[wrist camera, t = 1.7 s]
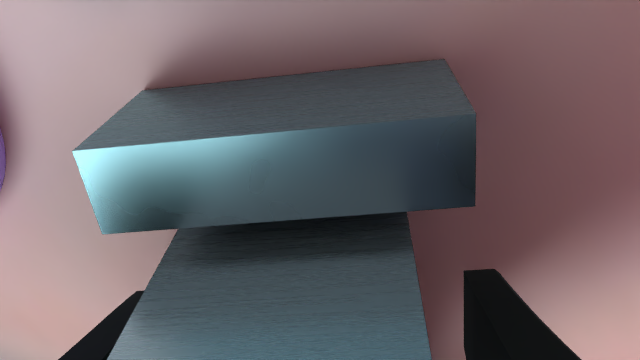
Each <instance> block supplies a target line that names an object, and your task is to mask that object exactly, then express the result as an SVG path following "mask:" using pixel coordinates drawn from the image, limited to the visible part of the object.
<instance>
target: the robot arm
mask: <svg viewBox="0 0 640 360" xmlns="http://www.w3.org/2000/svg"><path fill="white" fill-rule="evenodd" d="M143 293H144V291H136V292H135V293H134V294H133V295H131V296H130V297H129V298H128V299H127V300H125V301H124V302H123V303H122V304H121V305H120V306H118V307H117V308H116V309H115V310H114V311H113V312H112V313H110V314H109V315H108V316H107V317H106V318H105V319H104V320H103V321H101V322H100V323H99V324H98V325H97V326H96V327H95V328H94V329H93V330H91V331H90V332H89V333H88V334H87V335H86V336H85V337H83V338H82V339H81V340H80V341H79V342H78V343H77V344H76V345H74V346H73V347H72V348H71V349H70V350H69V351H68V352H66V353H65V354H64V355H63V356H62V357H61V358H60V359H58V360H107V359H108V357H109V355H110V353H111V351H112V349H113V348H114V346H115V344H116V342H117V340H118V338H119V337H120V335H121V333H122V331H123V329H124V327H125V326H126V324H127V322H128V320H129V318H130V316H131V315H132V313H133V311H134V309H135V307H136V306H137V304H138V302H139V300H140V298H141V296H142V295H143ZM464 350H465V355H466V360H581V359H580V358H579V357H578V356H577V355H576V354H575V353H574V352H573V351H572V350H571V349H570V348H569V347H568V346H566V345H565V344H564V343H563V342H562V341H561V340H560V339H559V338H558V337H557V336H556V335H555V334H554V333H553V332H552V331H551V330H550V329H549V327H548V326H547V325H546V324H545V323H544V322H543V321H542V320H541V319H540V318H539V317H538V316H537V315H536V314H535V313H534V312H533V311H532V310H531V309H530V308H529V306H528V305H527V304H526V303H525V302H524V301H523V300H522V299H521V298H520V296H519V295H518V294H517V293H516V292H515V291H514V290H513V288H512V287H511V286H510V285H509V284H508V283H507V281H506V280H505V279H504V278H503V277H502V275H501V274H500V273H499V272H498V271H496V270H495V269H484V270H468V271H464Z"/></svg>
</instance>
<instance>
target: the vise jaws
mask: <svg viewBox="0 0 640 360" xmlns="http://www.w3.org/2000/svg"><path fill="white" fill-rule="evenodd" d="M72 152H73V154H74V157H75V160H76V163H77V165H78V168H79V171H80V174H81V177H82V179H83V182H84V185H85V188H86V190H87V193H88V196H89V199H90V202H91V204H92V207H93V210H94V213H95V215H96V218H97V221H98V224H99V227H100V229H101V232H102V234H112V233H125V232H139V231H152V230H165V229H179V228H192V227H206V226H219V225H232V224H246V223H259V222H272V221H286V220H299V219H313V218H326V217H339V216H353V215H366V214H379V213H393V212H406V211H420V210H433V209H446V208H460V207H473V206H475V177H476V113H475V111H474V109H473V107H472V106H471V104H470V102H469V101H468V99H467V97H466V95H465V94H464V92H463V90H462V89H461V87H460V85H459V83H458V82H457V80H456V78H455V77H454V75H453V73H452V71H451V70H450V68H449V66H448V65H447V63H446V61H445V59H440V60H431V61H421V62H411V63H402V64H392V65H383V66H373V67H363V68H354V69H344V70H335V71H325V72H315V73H306V74H296V75H287V76H277V77H268V78H258V79H248V80H239V81H229V82H220V83H210V84H200V85H191V86H181V87H172V88H162V89H152V90H143V91H141V92H140V93H139V94H138V95H137V96H135V97H134V98H133V99H132V100H131V101H130V102H128V103H127V104H126V105H125V106H124V107H123V108H122V109H120V110H119V111H118V112H117V113H116V114H115V115H113V116H112V117H111V118H110V119H109V120H108V121H107V122H105V123H104V124H103V125H102V126H101V127H100V128H98V129H97V130H96V131H95V132H94V133H93V134H92V135H90V136H89V137H88V138H87V139H86V140H85V141H83V142H82V143H81V144H80V145H79V146H78V147H77V148H75V149H74V150H73V151H72Z"/></svg>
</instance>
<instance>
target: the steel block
mask: <svg viewBox="0 0 640 360" xmlns="http://www.w3.org/2000/svg"><path fill="white" fill-rule="evenodd" d="M107 360H432V359H431V353H430V347H429V341H428V335H427V329H426V323H425V317H424V311H423V305H422V299H421V294H420V288H419V282H418V276H417V270H416V264H415V258H414V252H413V246H412V240H411V234H410V229H409V223H408V217H407V211H406V212H393V213H379V214H366V215H353V216H339V217H326V218H313V219H299V220H286V221H272V222H259V223H246V224H232V225H219V226H206V227H192V228H179V229H178V231H177V232H176V234H175V236H174V238H173V240H172V242H171V243H170V245H169V247H168V249H167V251H166V253H165V254H164V256H163V258H162V260H161V262H160V263H159V265H158V267H157V269H156V271H155V273H154V274H153V276H152V278H151V280H150V282H149V284H148V285H147V287H146V289H145V291H144V293H143V295H142V296H141V298H140V300H139V302H138V304H137V306H136V307H135V309H134V311H133V313H132V315H131V316H130V318H129V320H128V322H127V324H126V326H125V327H124V329H123V331H122V333H121V335H120V337H119V338H118V340H117V342H116V344H115V346H114V348H113V349H112V351H111V353H110V355H109V357H108V359H107Z"/></svg>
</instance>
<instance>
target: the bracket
mask: <svg viewBox="0 0 640 360" xmlns="http://www.w3.org/2000/svg"><path fill="white" fill-rule="evenodd" d="M5 167H6V157H5V147H4V140H3V136H2V132H1V129H0V190H1V188H2V185H3V181H4V176H5Z"/></svg>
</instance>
